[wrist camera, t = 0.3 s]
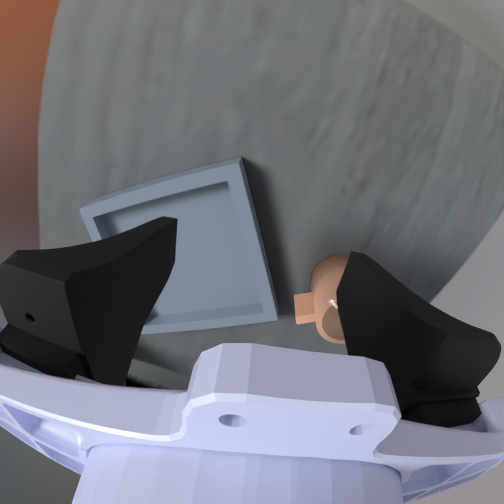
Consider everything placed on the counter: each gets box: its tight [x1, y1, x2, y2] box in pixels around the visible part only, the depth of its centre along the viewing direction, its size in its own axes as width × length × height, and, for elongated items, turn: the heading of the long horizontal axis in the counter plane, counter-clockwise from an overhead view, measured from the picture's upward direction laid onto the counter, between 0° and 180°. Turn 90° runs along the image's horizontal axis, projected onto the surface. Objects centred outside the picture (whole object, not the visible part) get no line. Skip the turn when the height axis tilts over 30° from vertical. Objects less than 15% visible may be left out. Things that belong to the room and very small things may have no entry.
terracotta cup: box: [294, 254, 350, 344], centre depth 22 cm, size 5×6×5 cm
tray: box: [79, 157, 278, 334], centre depth 23 cm, size 13×13×2 cm
